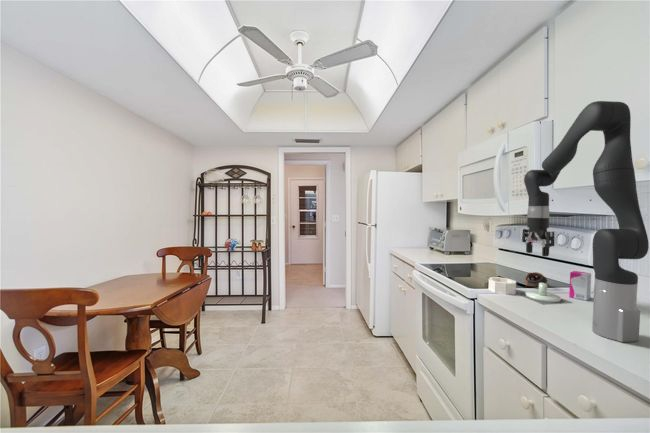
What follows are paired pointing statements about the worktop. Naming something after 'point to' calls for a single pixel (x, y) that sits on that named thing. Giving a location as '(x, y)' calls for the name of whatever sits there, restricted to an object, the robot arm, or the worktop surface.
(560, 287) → the worktop surface
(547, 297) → the lid
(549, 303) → the mat
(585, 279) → the supplement box
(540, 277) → the pottery mug
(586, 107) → the robot arm
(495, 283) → the bowl
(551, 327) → the worktop surface
